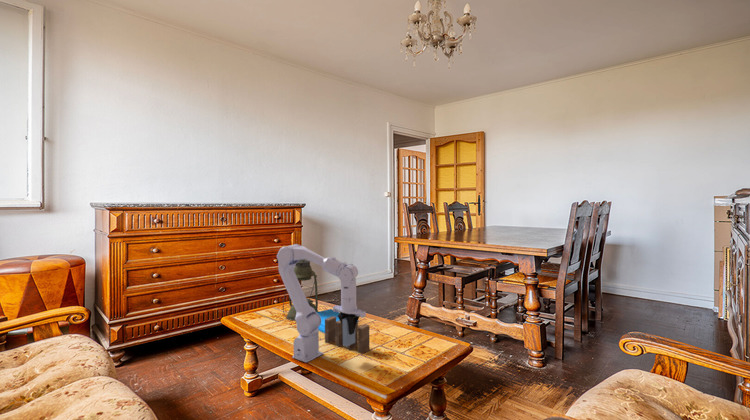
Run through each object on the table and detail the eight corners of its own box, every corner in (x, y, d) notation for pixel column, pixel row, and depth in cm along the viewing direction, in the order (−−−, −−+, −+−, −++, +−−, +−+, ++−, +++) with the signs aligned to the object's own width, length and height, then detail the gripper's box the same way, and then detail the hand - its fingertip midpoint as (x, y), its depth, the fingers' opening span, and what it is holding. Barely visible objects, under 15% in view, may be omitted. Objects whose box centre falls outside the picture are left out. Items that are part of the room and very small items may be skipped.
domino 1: (336, 339, 154) (336, 317, 154) (328, 343, 150) (328, 320, 150) (332, 338, 156) (332, 316, 155) (324, 342, 151) (324, 319, 151)
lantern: (328, 314, 190) (327, 258, 189) (305, 323, 175) (305, 263, 175) (300, 308, 201) (299, 256, 200) (276, 317, 186) (275, 260, 185)
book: (330, 308, 188) (359, 319, 169) (330, 316, 188) (359, 328, 169) (301, 315, 177) (329, 327, 158) (301, 324, 177) (329, 337, 158)
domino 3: (355, 342, 135) (354, 316, 135) (346, 346, 131) (346, 320, 131) (351, 341, 136) (350, 315, 136) (342, 345, 132) (342, 319, 132)
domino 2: (346, 342, 151) (346, 319, 151) (339, 346, 147) (338, 322, 147) (343, 341, 152) (343, 318, 152) (335, 345, 148) (335, 321, 148)
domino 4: (357, 346, 147) (357, 322, 147) (350, 350, 143) (350, 325, 143) (354, 344, 149) (353, 321, 148) (346, 349, 144) (346, 324, 144)
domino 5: (369, 349, 144) (369, 325, 144) (362, 353, 140) (361, 328, 140) (365, 348, 145) (365, 324, 145) (358, 352, 141) (357, 327, 141)
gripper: (370, 297, 132) (370, 333, 133) (341, 292, 141) (341, 326, 141) (358, 302, 127) (359, 339, 127) (329, 296, 135) (329, 331, 135)
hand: (349, 333), depth 134 cm, fingers closed on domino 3, 2 cm apart
